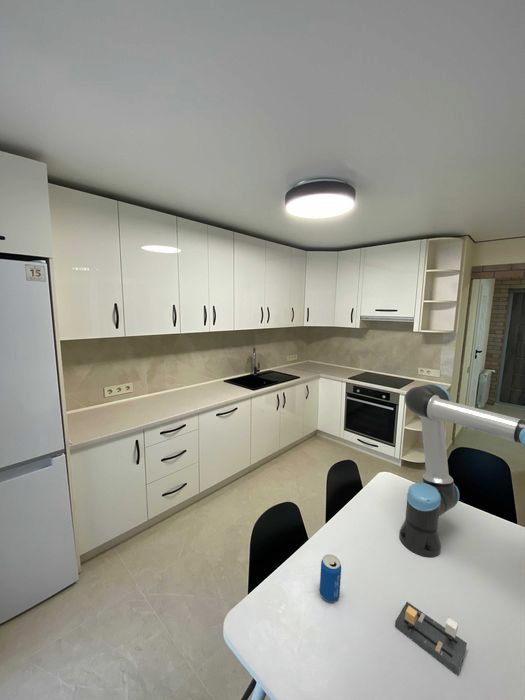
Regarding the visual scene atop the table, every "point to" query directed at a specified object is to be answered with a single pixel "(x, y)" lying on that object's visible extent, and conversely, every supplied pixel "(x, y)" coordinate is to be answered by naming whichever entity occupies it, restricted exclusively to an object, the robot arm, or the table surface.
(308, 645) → the table surface
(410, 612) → the fader
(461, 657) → the console
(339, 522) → the table surface
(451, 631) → the fader
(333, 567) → the beverage can
